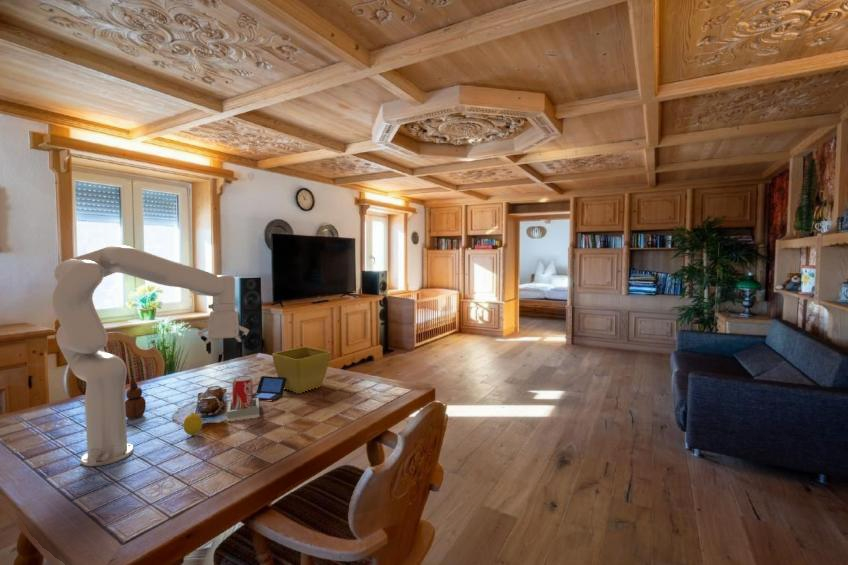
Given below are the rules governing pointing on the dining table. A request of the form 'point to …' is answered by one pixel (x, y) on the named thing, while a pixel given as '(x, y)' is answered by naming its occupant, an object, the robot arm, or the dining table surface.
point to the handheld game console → (270, 388)
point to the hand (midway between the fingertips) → (223, 352)
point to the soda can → (242, 392)
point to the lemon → (192, 424)
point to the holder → (243, 411)
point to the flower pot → (301, 367)
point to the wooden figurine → (134, 402)
